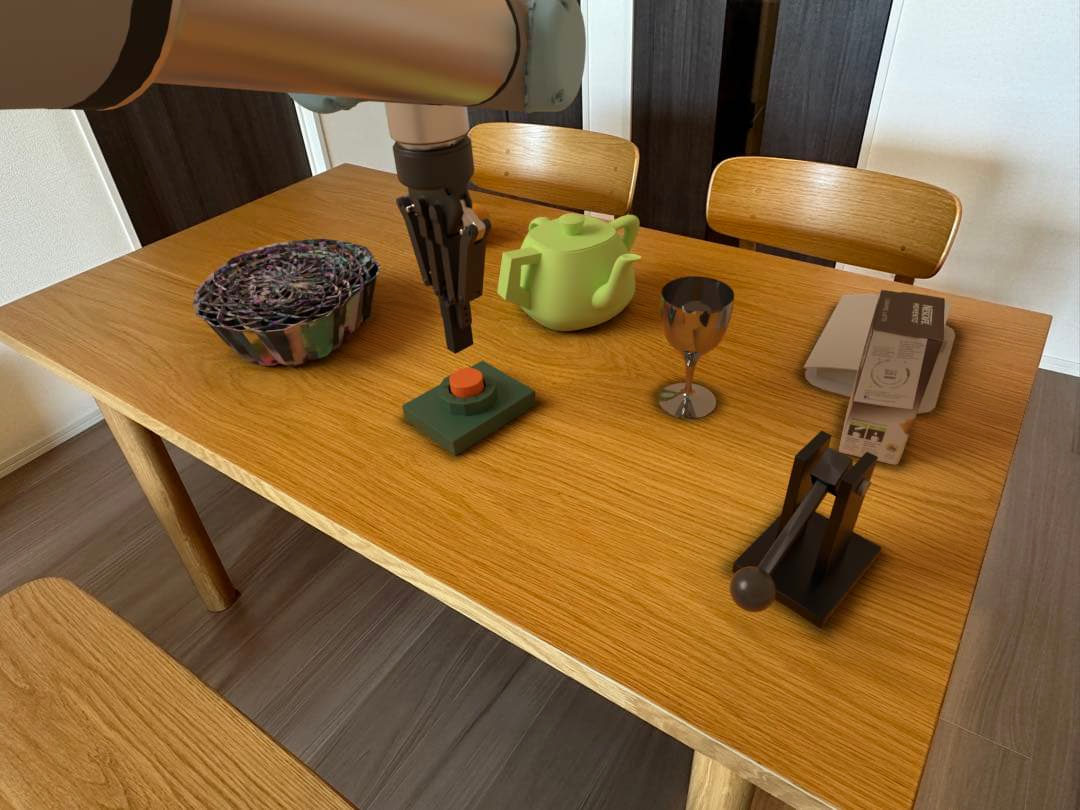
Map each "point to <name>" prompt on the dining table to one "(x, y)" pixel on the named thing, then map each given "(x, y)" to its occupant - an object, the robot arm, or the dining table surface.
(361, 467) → the dining table surface
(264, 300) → the decorative bowl
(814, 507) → the lever
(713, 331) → the wine glass
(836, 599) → the bracket
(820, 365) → the white open box
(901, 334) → the coffee box
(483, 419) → the button box
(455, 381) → the button
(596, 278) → the teapot
